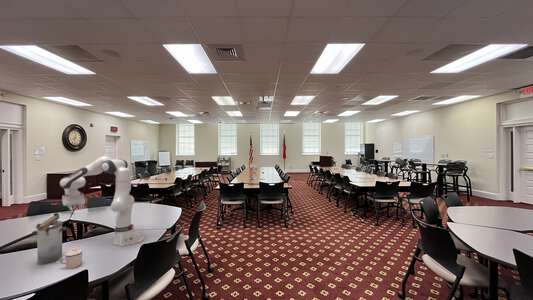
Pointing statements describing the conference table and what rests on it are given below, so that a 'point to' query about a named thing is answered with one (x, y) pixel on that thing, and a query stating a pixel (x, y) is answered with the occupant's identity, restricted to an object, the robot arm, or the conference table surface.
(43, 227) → the lock bar
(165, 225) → the conference table surface
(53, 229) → the grey tall piece
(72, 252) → the teacup with lid
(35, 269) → the conference table surface
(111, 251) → the conference table surface
